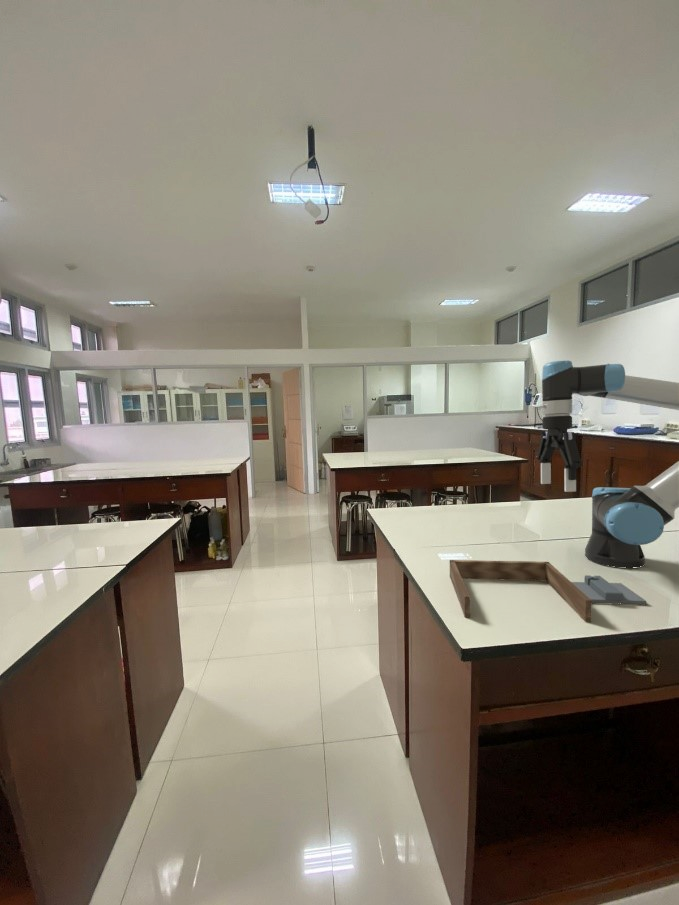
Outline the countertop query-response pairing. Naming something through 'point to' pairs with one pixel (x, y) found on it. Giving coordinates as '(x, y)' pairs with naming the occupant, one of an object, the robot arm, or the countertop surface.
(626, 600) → the slate mat
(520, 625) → the countertop surface
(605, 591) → the bracket
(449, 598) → the countertop surface
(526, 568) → the u-shaped wooden frame
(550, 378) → the robot arm
